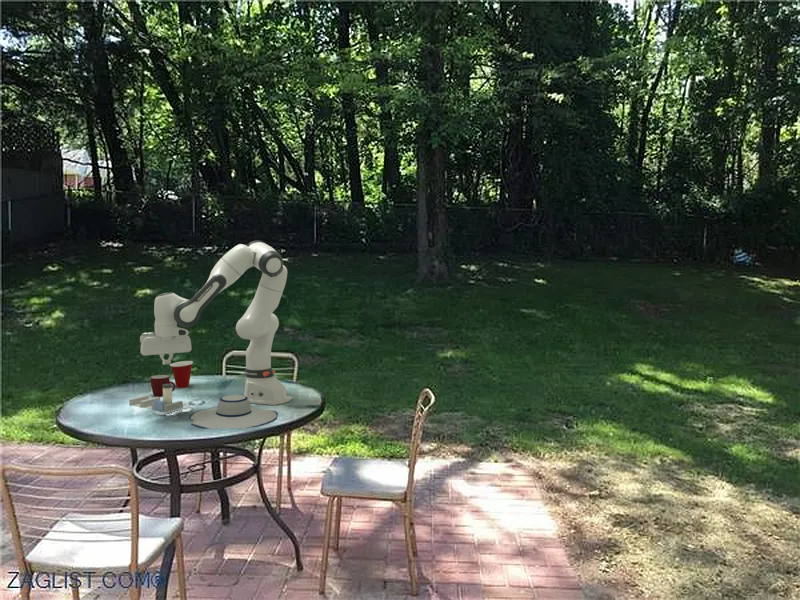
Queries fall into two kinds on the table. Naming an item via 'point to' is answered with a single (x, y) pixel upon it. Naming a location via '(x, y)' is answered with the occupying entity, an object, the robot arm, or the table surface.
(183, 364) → the plastic cup
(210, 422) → the sun hat
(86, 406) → the table surface
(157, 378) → the mug
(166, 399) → the grey-capped cream cylinder
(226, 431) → the table surface
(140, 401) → the stepped cream block
